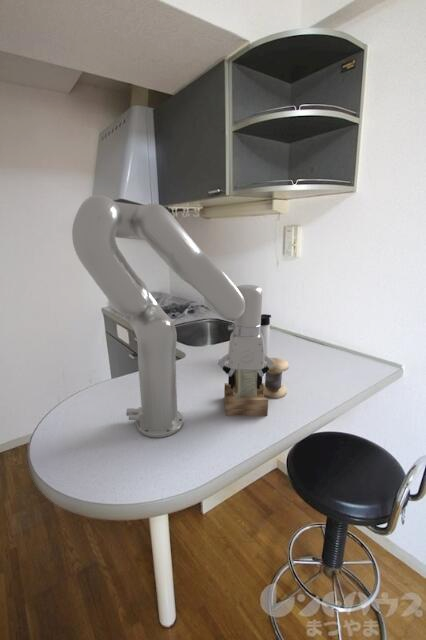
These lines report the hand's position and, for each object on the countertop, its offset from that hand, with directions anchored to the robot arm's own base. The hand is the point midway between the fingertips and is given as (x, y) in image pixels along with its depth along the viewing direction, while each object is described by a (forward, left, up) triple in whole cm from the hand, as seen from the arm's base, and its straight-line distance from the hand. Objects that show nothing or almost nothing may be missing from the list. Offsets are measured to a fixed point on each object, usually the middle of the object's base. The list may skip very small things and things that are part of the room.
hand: (244, 386), depth 93 cm
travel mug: (+9, +31, -7) cm, 33 cm away
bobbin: (+10, +9, -7) cm, 15 cm away
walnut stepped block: (0, 0, -7) cm, 7 cm away
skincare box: (0, 0, -3) cm, 3 cm away
